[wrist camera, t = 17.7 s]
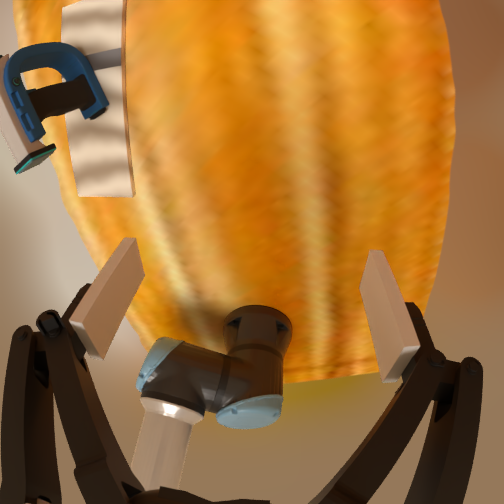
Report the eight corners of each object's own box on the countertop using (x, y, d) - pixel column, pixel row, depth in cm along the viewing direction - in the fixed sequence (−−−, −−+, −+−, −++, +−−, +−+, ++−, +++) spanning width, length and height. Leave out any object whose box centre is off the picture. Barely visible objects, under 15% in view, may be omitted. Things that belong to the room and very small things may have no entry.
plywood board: (135, 194, 49) (132, 197, 48) (81, 193, 49) (78, 196, 48) (127, -11, 27) (123, -13, 26) (66, 8, 28) (62, 7, 27)
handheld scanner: (96, 130, 41) (17, 180, 25) (60, 54, 32) (-29, 74, 16) (117, 117, 39) (37, 161, 24) (79, 38, 31) (-12, 48, 15)
